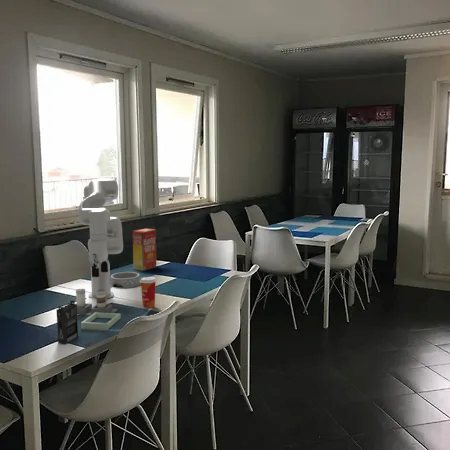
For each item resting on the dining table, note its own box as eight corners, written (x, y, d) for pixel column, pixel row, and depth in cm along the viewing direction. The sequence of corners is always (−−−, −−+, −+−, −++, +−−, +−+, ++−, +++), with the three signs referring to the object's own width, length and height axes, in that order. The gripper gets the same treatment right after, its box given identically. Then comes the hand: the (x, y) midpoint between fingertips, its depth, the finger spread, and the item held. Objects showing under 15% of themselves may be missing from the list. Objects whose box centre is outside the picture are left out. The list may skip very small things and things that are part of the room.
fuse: (79, 309, 237) (78, 288, 236) (87, 309, 236) (86, 288, 235) (75, 311, 233) (74, 290, 232) (83, 312, 232) (82, 291, 231)
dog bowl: (132, 289, 276) (132, 279, 276) (103, 286, 282) (103, 277, 282) (147, 281, 292) (146, 272, 292) (119, 279, 298) (118, 270, 298)
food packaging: (143, 271, 318) (142, 231, 314) (132, 269, 323) (131, 230, 319) (157, 267, 329) (156, 229, 325) (146, 265, 334) (145, 228, 330)
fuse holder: (74, 309, 241) (74, 301, 240) (118, 311, 237) (118, 304, 236) (64, 315, 231) (64, 308, 231) (109, 318, 227) (109, 310, 227)
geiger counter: (70, 334, 207) (68, 299, 204) (80, 335, 205) (78, 300, 203) (54, 343, 197) (52, 306, 195) (64, 345, 195) (62, 307, 193)
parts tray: (95, 318, 226) (95, 312, 226) (120, 320, 224) (120, 313, 224) (81, 329, 213) (81, 322, 212) (108, 331, 211) (107, 324, 210)
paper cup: (139, 305, 246) (138, 277, 244) (154, 303, 249) (153, 275, 247) (143, 310, 239) (142, 281, 237) (158, 307, 242) (158, 279, 240)
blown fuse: (99, 310, 235) (98, 289, 234) (107, 310, 235) (106, 289, 233) (95, 313, 231) (94, 291, 230) (104, 313, 231) (103, 292, 229)
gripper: (98, 234, 237) (100, 270, 239) (82, 240, 220) (84, 278, 222) (113, 234, 236) (115, 270, 238) (98, 240, 219) (100, 279, 221)
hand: (100, 274), depth 230 cm, fingers open, 9 cm apart
